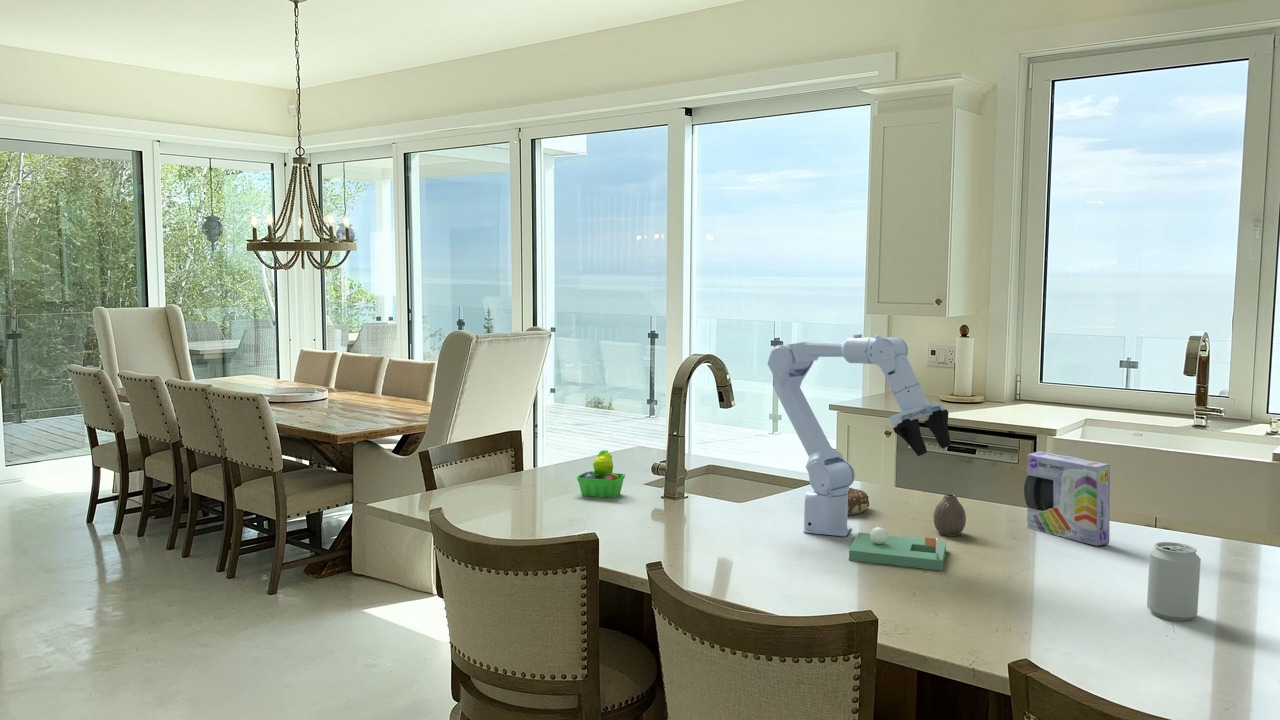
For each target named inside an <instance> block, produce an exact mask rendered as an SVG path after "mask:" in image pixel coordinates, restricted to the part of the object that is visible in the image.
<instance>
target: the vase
mask: <svg viewBox="0 0 1280 720" xmlns="http://www.w3.org/2000/svg"><path fill="white" fill-rule="evenodd" d="M932 517H933V519H932V520H933V524H934V527H935V529H936V531H937V532H938V533H939V534H940V535H943V536H949V537H957V536H959V535H960V534H961V533H962V532H963V531H964V529H965V527H966V522H967V515H966V511H965V507H963V505H962V503H961V502H960V501H959V499H958V497H957V496H956V494H952V493H947V494H944V496H943V498H942V499H941V500H940V501H939V502H938V504H937V505H935V509H934V512H933V516H932Z"/></svg>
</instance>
